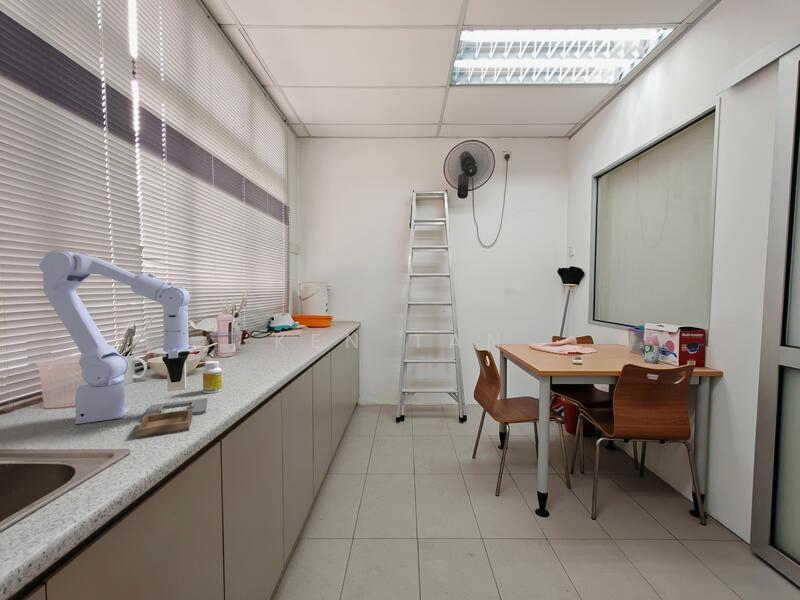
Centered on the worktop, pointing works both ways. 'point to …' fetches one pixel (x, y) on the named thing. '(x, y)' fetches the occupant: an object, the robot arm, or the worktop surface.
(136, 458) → the worktop surface
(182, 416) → the tray
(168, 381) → the block
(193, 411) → the frame
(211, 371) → the supplement bottle
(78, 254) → the robot arm
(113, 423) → the worktop surface
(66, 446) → the worktop surface
